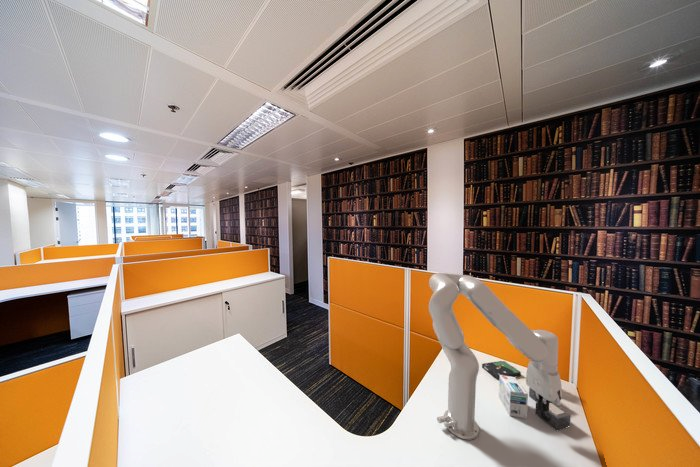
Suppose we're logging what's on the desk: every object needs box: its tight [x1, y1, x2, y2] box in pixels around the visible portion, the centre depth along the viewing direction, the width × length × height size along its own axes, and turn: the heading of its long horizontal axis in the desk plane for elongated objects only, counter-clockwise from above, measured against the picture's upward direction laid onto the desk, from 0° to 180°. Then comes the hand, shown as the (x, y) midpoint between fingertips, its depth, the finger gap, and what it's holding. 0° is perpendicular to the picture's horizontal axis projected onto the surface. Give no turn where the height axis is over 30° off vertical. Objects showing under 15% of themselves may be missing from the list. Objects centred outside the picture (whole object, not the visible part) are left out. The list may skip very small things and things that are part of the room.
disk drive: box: [481, 360, 522, 381], centre depth 122 cm, size 10×3×15 cm
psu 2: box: [534, 401, 572, 432], centre depth 92 cm, size 7×8×5 cm
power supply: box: [528, 386, 561, 408], centre depth 101 cm, size 7×8×5 cm
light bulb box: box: [498, 375, 529, 419], centre depth 98 cm, size 11×7×11 cm, turn 168°
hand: (543, 410), depth 87 cm, fingers closed
